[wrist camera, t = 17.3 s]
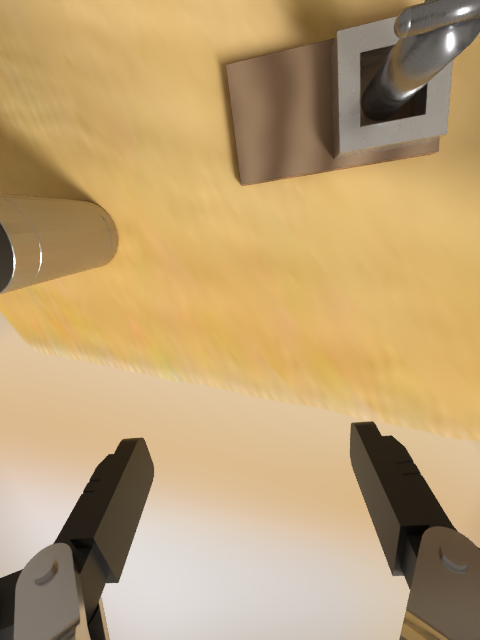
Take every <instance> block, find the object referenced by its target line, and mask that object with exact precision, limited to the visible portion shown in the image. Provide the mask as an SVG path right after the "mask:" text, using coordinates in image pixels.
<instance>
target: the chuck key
mask: <svg viewBox="0 0 480 640" xmlns="http://www.w3.org/2000/svg"><path fill="white" fill-rule="evenodd" d="M479 32H480V0H425V2H424V3H421V4H417V5H413V6H410V7H407V8H405V9H403V10H402V11H401V12H400V13H399V14H398V16H397V18H396V20H395V23H394V33H395V35H396V36H397V37H398V38H400V39H399V40H398V42H397V43H396V45H395V46H394V47H393V49H392V50H391V52H390V53H389V55H388V56H387V58H386V59H385V61H384V62H383V64H382V65H381V67H380V68H379V70H378V71H377V73H376V74H375V75H374V77H373V78H372V80H371V81H370V83H369V84H368V86H367V87H366V89H365V91H364V93H363V96H362V109H363V112H364V113H365V115H366V116H367V117H368V118H369V119H371V120H374V121H382V120H385V119H387V118H389V117H390V116H392V115H393V114H394V113H395V112H396V111H397V110H398V109H399V108H400V107H401V106H403V105H404V104H405V103H406V102H407V101H408V100H409V99H410V98H411V97H412V96H413V95H415V94H416V93H417V92H418V91H419V90H420V89H421V88H422V87H423V86H424V85H426V84H427V83H428V82H429V81H430V80H431V79H432V78H433V77H434V76H435V75H437V74H438V73H439V72H440V71H441V70H442V69H443V68H444V67H445V66H446V65H448V64H449V63H450V62H451V61H452V60H453V59H454V58H455V57H456V56H457V55H459V54H460V53H461V52H462V51H463V50H464V49H465V48H466V47H467V46H468V45H470V44H471V43H472V41H473V40H474V39H475V38H476V37H477V35H478V34H479Z"/></svg>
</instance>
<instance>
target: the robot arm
mask: <svg viewBox="0 0 480 640" xmlns="http://www.w3.org/2000/svg"><path fill="white" fill-rule="evenodd" d="M117 246H118V235H117V230H116V227H115V224H114V222H113V221H112V219H111V217H110V216H109V215H108V214H107V212H106V211H105V210H103V209H102V208H101V207H100V206H98V205H96V204H94V203H92V202H89V201H82V200H71V199H60V198H48V197H36V196H24V195H11V194H0V294H3V293H6V292H10V291H14V290H17V289H21V288H24V287H27V286H31V285H35V284H38V283H42V282H46V281H49V280H53V279H56V278H60V277H64V276H67V275H71V274H75V273H78V272H82V271H86V270H89V269H93V268H97V267H100V266H103V265H105V264H107V263H108V262H109V261H110V260H111V259H112V258H113V257H114V255H115V253H116V251H117ZM350 436H351V437H350V458H351V463H352V467H353V470H354V473H355V476H356V479H357V481H358V484H359V487H360V489H361V492H362V495H363V497H364V500H365V503H366V505H367V508H368V511H369V514H370V516H371V518H372V522H373V524H374V527H375V529H376V532H377V535H378V538H379V540H380V543H381V546H382V548H383V551H384V554H385V556H386V559H387V562H388V565H389V567H390V570H391V572H392V575H393V576H405V579H406V581H407V584H408V586H409V589H410V594H409V599H408V603H407V609H406V613H405V618H404V622H403V626H402V631H401V635H400V640H480V548H478V547H477V546H476V545H475V544H474V543H473V542H472V541H470V540H469V539H468V538H467V537H465V536H464V535H462V534H461V533H459V532H458V531H457V530H456V529H455V528H454V526H453V525H452V523H451V522H450V520H449V519H448V517H447V515H446V514H445V512H444V511H443V509H442V507H441V506H440V504H439V502H438V501H437V499H436V498H435V496H434V494H433V492H432V491H431V489H430V488H429V486H428V484H427V483H426V481H425V480H424V478H423V476H421V474H420V471H419V470H418V468H417V466H416V465H415V464H414V462H413V460H412V458H411V457H410V455H409V453H408V451H407V450H406V448H405V447H404V446H403V445H402V444H401V443H400V442H398V441H397V440H396V439H395V438H394V437H393V436H381V434H380V432H379V430H378V428H377V427H376V425H375V423H374V422H373V421H371V422H357V423H352V424H351V435H350ZM153 477H154V465H153V462H152V459H151V456H150V453H149V451H148V448H147V445H146V442H145V440H144V438H130V439H123V440H122V441H121V442H120V444H119V446H118V447H117V449H116V451H115V453H114V454H109V455H108V456H107V457H106V458H105V459H104V460H103V461H102V462H101V463H100V464H99V465H98V466H97V468H96V469H95V471H94V473H93V475H92V476H91V478H90V482H89V483H88V484H87V485H86V487H85V489H84V491H83V494H82V495H81V496H80V498H79V500H78V501H77V503H76V505H75V507H74V509H73V510H72V512H71V514H70V516H69V518H68V519H67V521H66V523H65V525H64V526H63V528H62V530H61V532H60V534H59V535H58V537H57V539H56V540H55V542H54V544H52V545H50V546H48V547H46V548H44V549H43V550H41V551H40V552H39V553H37V554H36V555H35V556H34V557H33V558H32V559H31V560H30V561H29V562H28V563H27V565H26V566H25V567H24V569H22V570H20V571H17V572H15V573H12V574H10V575H7V576H5V577H2V578H0V640H110V638H109V633H108V628H107V623H106V618H105V613H104V608H103V603H102V599H101V594H102V591H103V589H104V586H105V583H118V582H119V579H120V576H121V573H122V570H123V567H124V565H125V562H126V558H127V556H128V553H129V550H130V547H131V544H132V541H133V538H134V535H135V532H136V529H137V526H138V523H139V520H140V517H141V514H142V511H143V508H144V505H145V503H146V500H147V497H148V494H149V491H150V487H151V485H152V482H153Z"/></svg>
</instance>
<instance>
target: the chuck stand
mask: <svg viewBox="0 0 480 640" xmlns="http://www.w3.org/2000/svg"><path fill="white" fill-rule="evenodd" d="M396 18H397V16H396V17H392V18H388V19H384V20H380V21H376V22H372V23H368V24H364V25H360V26H356V27H352V28H348V29H344V30H339V31H337V33H336V37H335V38H334V39H330V40H326V41H322V42H318V43H314V44H310V45H305V46H301V47H297V48H293V49H289V50H285V51H281V52H277V53H273V54H268V55H264V56H260V57H256V58H252V59H248V60H244V61H240V62H236V63H232V64H227V65H226V69H227V77H228V85H229V93H230V101H231V109H232V117H233V125H234V132H235V140H236V148H237V156H238V164H239V172H240V180H241V185H242V186H246V185H251V184H257V183H263V182H269V181H275V180H281V179H287V178H293V177H299V176H305V175H311V174H317V173H323V172H329V171H335V170H340V169H346V168H352V167H358V166H364V165H370V164H376V163H382V162H388V161H394V160H400V159H406V158H412V157H418V156H424V155H430V154H433V153H436V152H438V151H439V138H440V137H442V136H444V135H446V134H447V124H448V112H449V100H450V88H451V76H452V64H453V60H452V61H451V62H450V63H449V64H448V65H446V66H445V67H444V68H443V69H442V70H441V71H440V72H439V73H438V74H437V75H435V76H434V77H433V78H432V79H431V80H430V81H429V82H428V83H427V84H426V85H424V86H423V87H422V88H421V89H420V90H419V91H418V92H417V93H416V94H415V95H413V96H412V97H411V98H410V99H409V100H408V101H407V102H406V103H405V104H404V105H403V106H401V107H400V108H399V109H398V110H397V111H396V112H395V113H394V114H393V115H392V116H390V117H389V118H387V119H385V120H382V121H374V120H371V119H369V118H368V117H367V116H366V115H365V113H364V112H363V109H362V96H363V93H364V91H365V89H366V87H367V86H368V84H369V83H370V81H371V80H372V78H373V77H374V75H375V74H376V73H377V71H378V70H379V68H380V67H381V65H382V64H383V62H384V61H385V59H386V58H387V56H388V55H389V53H390V52H391V50H392V49H393V47H394V46H395V45H396V43H397V42H398V40H399V39H400V38H398V37H397V36H396V35H395V33H394V23H395V20H396Z"/></svg>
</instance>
